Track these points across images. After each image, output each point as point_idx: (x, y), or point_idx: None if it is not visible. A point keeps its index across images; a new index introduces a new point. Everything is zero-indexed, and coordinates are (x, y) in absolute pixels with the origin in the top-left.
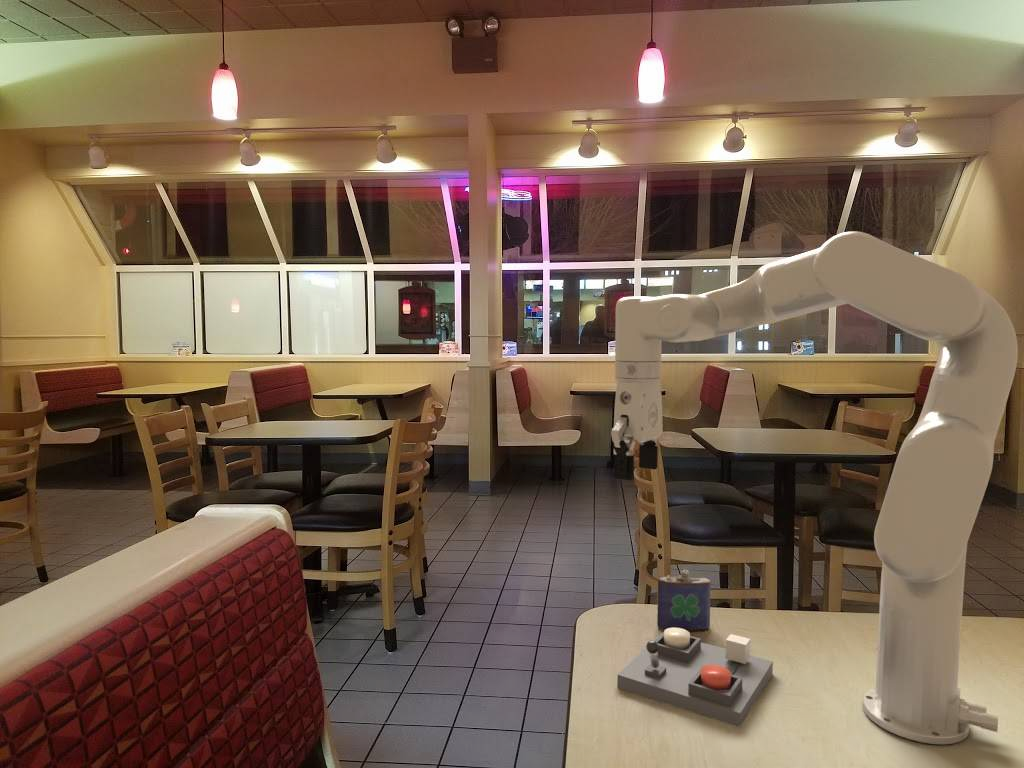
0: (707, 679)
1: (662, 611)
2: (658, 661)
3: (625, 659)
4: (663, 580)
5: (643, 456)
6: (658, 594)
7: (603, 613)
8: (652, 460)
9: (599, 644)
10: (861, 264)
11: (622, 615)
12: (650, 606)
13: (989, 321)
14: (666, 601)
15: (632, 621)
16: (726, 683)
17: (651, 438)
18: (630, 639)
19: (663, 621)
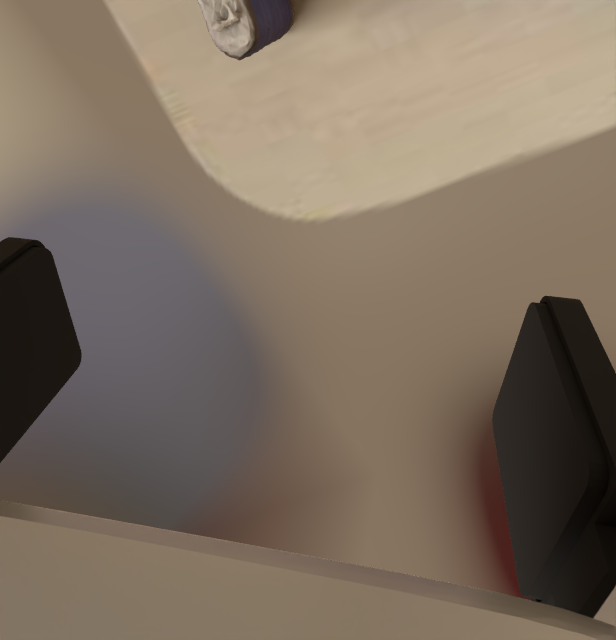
0: None
1: (280, 21)
2: None
3: (504, 43)
4: (250, 33)
5: (19, 396)
6: (263, 46)
7: (282, 193)
8: (9, 306)
9: (447, 138)
10: None
11: (266, 148)
12: (175, 103)
13: None
14: (270, 11)
15: (284, 112)
16: None
17: (158, 553)
18: (386, 76)
19: (286, 14)
